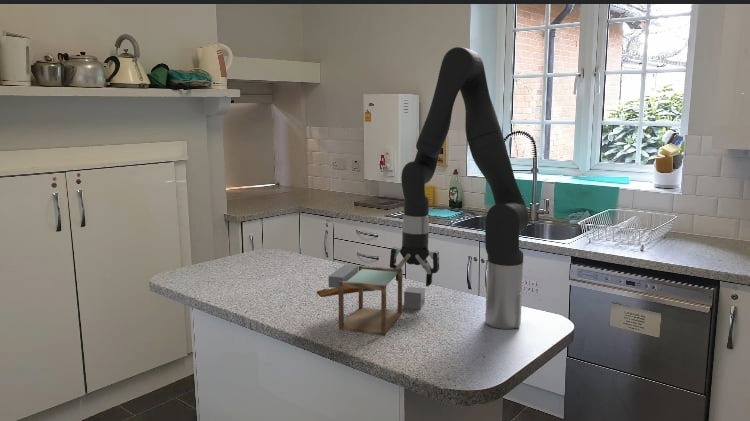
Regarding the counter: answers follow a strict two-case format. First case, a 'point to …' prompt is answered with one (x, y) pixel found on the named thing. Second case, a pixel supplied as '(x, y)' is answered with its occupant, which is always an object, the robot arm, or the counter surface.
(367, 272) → the trapdoor
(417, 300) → the stone
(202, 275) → the counter surface
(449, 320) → the counter surface
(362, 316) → the wooden box frame
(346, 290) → the primitive tool
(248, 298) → the counter surface
